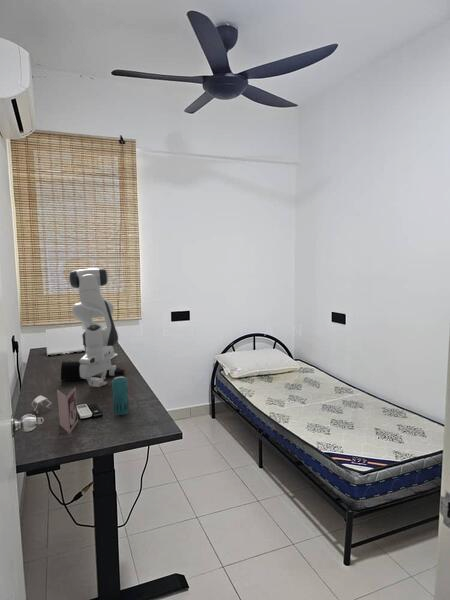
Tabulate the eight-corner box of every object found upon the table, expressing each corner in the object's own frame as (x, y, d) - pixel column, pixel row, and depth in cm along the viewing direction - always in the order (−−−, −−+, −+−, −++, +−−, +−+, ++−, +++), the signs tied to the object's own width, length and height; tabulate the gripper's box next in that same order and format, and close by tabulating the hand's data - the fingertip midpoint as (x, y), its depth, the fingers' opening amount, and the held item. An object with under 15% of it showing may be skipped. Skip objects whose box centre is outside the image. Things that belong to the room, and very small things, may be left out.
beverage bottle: (115, 419, 167) (112, 373, 165) (112, 414, 173) (109, 368, 171) (130, 416, 170) (128, 370, 167) (128, 411, 176) (125, 366, 174)
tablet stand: (47, 351, 294) (45, 328, 292) (83, 347, 304) (81, 325, 302) (47, 357, 277) (45, 333, 276) (85, 352, 287) (83, 329, 285)
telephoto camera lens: (124, 383, 230) (126, 369, 224) (60, 384, 220) (60, 370, 215) (124, 370, 238) (125, 357, 233) (62, 371, 228) (62, 357, 223)
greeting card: (71, 433, 155) (68, 396, 153) (52, 434, 155) (48, 397, 153) (80, 421, 166) (77, 386, 165) (61, 422, 166) (58, 387, 164)
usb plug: (88, 385, 212) (88, 379, 212) (93, 383, 216) (92, 377, 215) (103, 387, 208) (102, 381, 208) (107, 385, 212) (107, 378, 211)
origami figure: (54, 410, 180) (53, 399, 179) (33, 414, 175) (32, 403, 175) (49, 402, 190) (48, 392, 189) (29, 406, 185) (28, 396, 185)
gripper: (104, 351, 221) (105, 375, 223) (76, 360, 203) (78, 387, 204) (113, 352, 219) (114, 376, 220) (86, 361, 200) (88, 388, 202)
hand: (97, 382), depth 212 cm, fingers open, 8 cm apart
